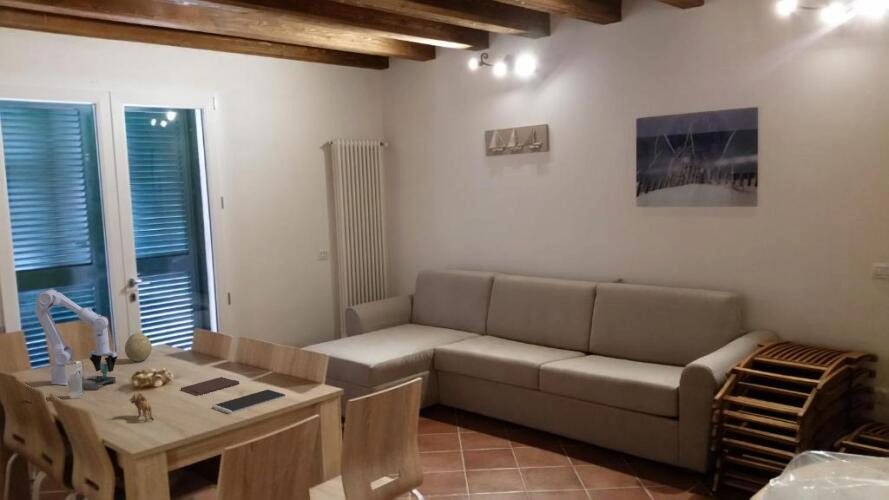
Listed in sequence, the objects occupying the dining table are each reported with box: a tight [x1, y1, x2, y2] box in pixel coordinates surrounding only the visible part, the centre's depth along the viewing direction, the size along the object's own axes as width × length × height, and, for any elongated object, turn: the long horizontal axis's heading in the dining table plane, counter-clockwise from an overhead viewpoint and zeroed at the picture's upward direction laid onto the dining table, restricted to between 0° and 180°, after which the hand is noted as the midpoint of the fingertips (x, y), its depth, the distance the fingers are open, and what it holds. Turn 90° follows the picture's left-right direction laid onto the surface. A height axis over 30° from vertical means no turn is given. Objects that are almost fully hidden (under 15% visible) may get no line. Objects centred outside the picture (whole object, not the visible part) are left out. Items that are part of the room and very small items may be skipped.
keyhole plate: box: [83, 375, 117, 391], centre depth 307 cm, size 13×11×3 cm
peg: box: [100, 362, 111, 377], centre depth 318 cm, size 4×4×7 cm
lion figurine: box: [129, 392, 155, 423], centre depth 260 cm, size 15×5×9 cm, turn 50°
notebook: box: [180, 376, 240, 396], centre depth 298 cm, size 15×20×2 cm
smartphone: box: [212, 389, 287, 415], centre depth 275 cm, size 13×27×2 cm, turn 139°
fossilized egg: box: [124, 332, 153, 363], centre depth 350 cm, size 13×13×15 cm
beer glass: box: [65, 360, 85, 400], centre depth 291 cm, size 7×7×15 cm
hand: (104, 371), depth 318 cm, fingers open, 7 cm apart
